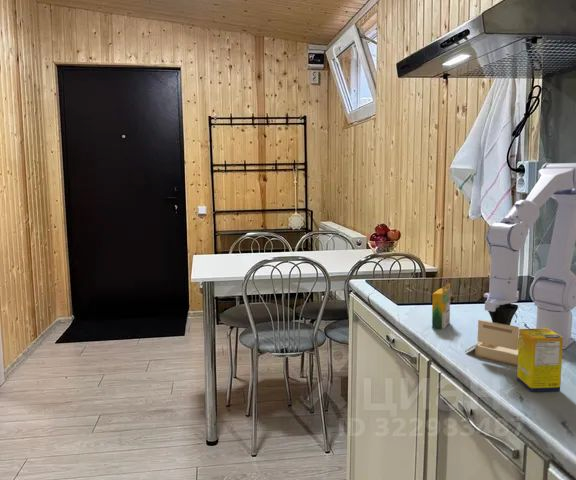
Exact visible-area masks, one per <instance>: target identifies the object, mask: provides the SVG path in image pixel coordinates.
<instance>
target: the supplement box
mask: <svg viewBox="0 0 576 480" xmlns="http://www.w3.org/2000/svg"><path fill="white" fill-rule="evenodd" d="M518 338H519V344H518V366H516V367H517V368H516V369H517V371H516V372H517V373H516V380H517V382H519V383H520V384H521V385H523V387H525V388H526V389H527V390H528V391H529V392H533V393H534V392H557V391H558V392H559V391H561V381H562V379H561V378H562V366H563V365H562V363H563V361H562V360H563V349H562V346H563V337H562V336H560V335H558V334H557V333H555V332H553V331H551V330H550V329H548V328H540V329H536V328H519V335H518Z"/></svg>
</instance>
